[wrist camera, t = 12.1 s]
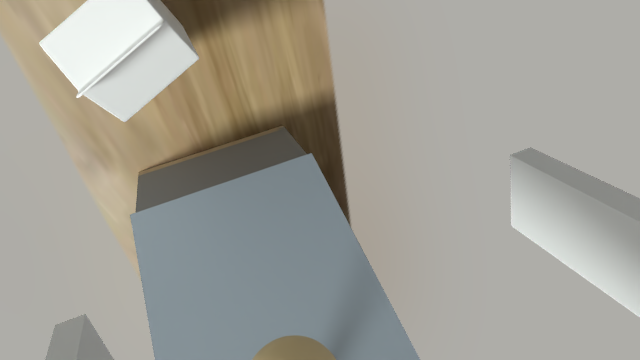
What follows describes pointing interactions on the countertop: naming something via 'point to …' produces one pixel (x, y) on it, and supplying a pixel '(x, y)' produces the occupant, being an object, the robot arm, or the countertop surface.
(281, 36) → the countertop surface
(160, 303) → the flap
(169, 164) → the carton
